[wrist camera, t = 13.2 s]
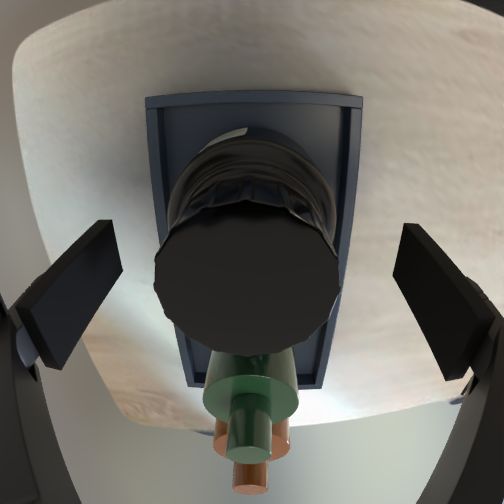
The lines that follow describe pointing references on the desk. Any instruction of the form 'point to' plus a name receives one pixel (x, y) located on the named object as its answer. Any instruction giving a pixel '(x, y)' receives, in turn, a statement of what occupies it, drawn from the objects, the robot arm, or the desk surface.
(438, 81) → the desk surface
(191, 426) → the desk surface
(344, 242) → the tray
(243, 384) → the green bottle
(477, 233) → the desk surface
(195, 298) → the ink bottle
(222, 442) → the amber bottle
